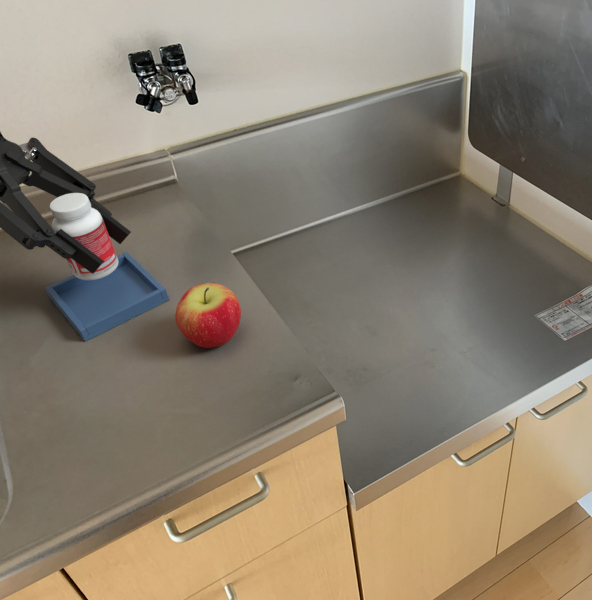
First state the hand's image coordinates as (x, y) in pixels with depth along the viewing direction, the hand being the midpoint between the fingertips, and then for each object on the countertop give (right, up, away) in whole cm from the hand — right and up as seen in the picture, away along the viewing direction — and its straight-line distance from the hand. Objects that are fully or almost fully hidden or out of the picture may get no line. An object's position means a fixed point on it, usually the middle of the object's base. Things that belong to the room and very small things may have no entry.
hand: (112, 252), depth 84 cm
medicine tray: (-4, -6, +7) cm, 10 cm away
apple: (+14, -12, +1) cm, 18 cm away
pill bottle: (-4, -2, +3) cm, 5 cm away
